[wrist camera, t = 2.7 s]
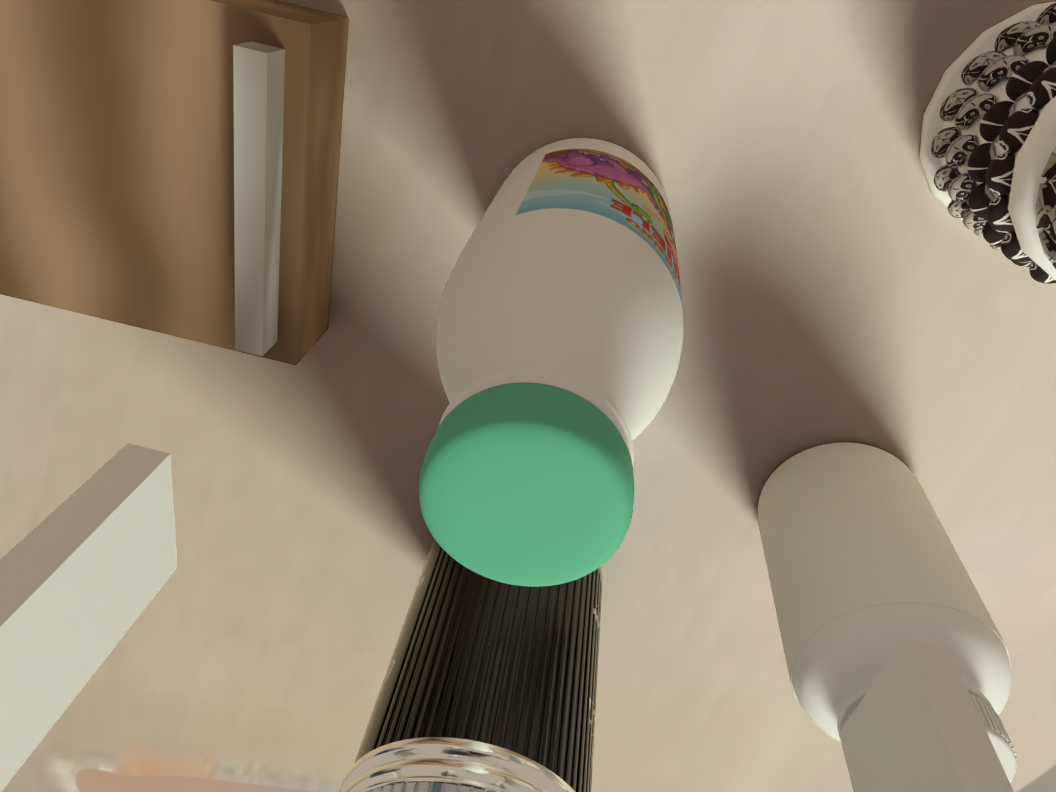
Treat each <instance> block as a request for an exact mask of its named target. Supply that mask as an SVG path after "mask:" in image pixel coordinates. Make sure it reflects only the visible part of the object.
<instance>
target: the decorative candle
mask: <svg viewBox="0 0 1056 792" xmlns="http://www.w3.org/2000/svg"><path fill="white" fill-rule="evenodd" d="M919 160H920V163H921V165H922V168H923V171H924V173H925V176H926V179H927V182H928V184H929V187H930V190H931V193H932V195H933V196H934V197H935V198H937V199H938V200H939V201H940V202H941V203H942V204H943V205H944V206H946V207H947V208H948V211H949V213H950V214H951V215H952V216H953V217H956V218H959V219H960V220H962V221H963V224H964V225H965V226H966V227H967V228H968V229H970V230H972V231H974V233H975V234H976V235H977V236H980V237H984V238H985V240H986V241H987V242H988V243H990V246H991V247H992V248H993V249H995V250H1002V252H1003V254H1004V255H1005V256H1006V257H1007V258H1008V259H1010V260H1011V261H1012V262H1013V263H1014V264H1016V265H1019V266H1023V267H1030V268H1029V269H1030V274H1031V277H1032V278H1033V279H1034V280H1036V281H1038V282H1041V283H1056V1H1054V2H1048V3H1041V4H1035V5H1031V6H1029V7H1027V8H1026V9H1024V10H1022V11H1020V12H1018V13H1016V14H1015V15H1013V16H1011V17H1009V18H1007V19H1005V20H1003V21H1002V22H1000V23H998V24H996V25H994V26H992V27H991V28H989V29H987V30H985V31H983V32H982V33H981V34H980V35H979V36H978V37H977V38H976V39H975V40H974V42H973V43H972V44H971V45H970V46H969V47H968V48H967V49H966V50H965V51H964V52H963V53H962V54H961V55H960V56H959V57H958V58H957V59H956V60H955V61H954V62H953V63H952V64H951V65H950V66H949V67H948V68H947V69H946V70H945V72H944V74H943V76H942V78H941V80H940V82H939V84H938V86H937V88H936V90H935V92H934V94H933V96H932V99H931V101H930V103H929V105H928V107H927V109H926V111H925V113H924V115H923V122H922V133H921V144H920V155H919Z"/></svg>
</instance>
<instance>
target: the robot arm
mask: <svg viewBox="0 0 1056 792" xmlns="http://www.w3.org/2000/svg"><path fill="white" fill-rule="evenodd" d="M177 567H178V566H177V550H176V535H175V519H174V503H173V488H172V472H171V456H170V454H169V453H165V452H161V451H157V450H153V449H149V448H145V447H141V446H137V445H133V444H129V443H128V444H127V445H126V446H125V447H124V448H122V449H121V450H120V451H119V452H118V453H117V454H116V455H115V456H114V457H113V458H111V459H110V460H109V461H108V462H107V463H106V464H105V465H104V466H103V467H102V468H101V469H99V470H98V471H97V472H96V473H95V474H94V475H93V476H92V477H91V478H90V479H89V480H87V481H86V482H85V483H84V484H83V485H82V486H81V487H80V488H79V489H78V490H76V491H75V492H74V493H73V494H72V495H71V496H70V497H69V498H68V499H67V500H66V501H64V502H63V503H62V504H61V505H60V506H59V507H58V508H57V509H56V510H55V511H54V512H52V513H51V514H50V515H49V516H48V517H47V518H46V519H45V520H44V521H43V522H41V523H40V524H39V525H38V526H37V527H36V528H35V529H34V530H33V531H32V532H31V533H29V534H28V535H27V536H26V537H25V538H24V539H23V540H22V541H21V542H20V543H19V544H17V545H16V546H15V547H14V548H13V549H12V550H11V551H10V552H9V553H8V554H6V555H5V556H4V557H3V558H2V559H1V560H0V792H2V790H3V789H4V788H5V786H6V785H7V784H8V783H9V781H10V780H11V779H12V778H13V776H14V775H15V774H16V772H17V771H18V770H19V769H20V767H21V766H22V765H23V763H24V762H25V761H26V760H27V758H28V757H29V756H30V755H31V753H32V752H33V751H34V749H35V748H36V747H37V746H38V744H39V743H40V742H41V741H42V739H43V738H44V737H45V735H46V734H47V733H48V732H49V730H50V729H51V728H52V726H53V725H54V724H55V723H56V721H57V720H58V719H59V718H60V716H61V715H62V714H63V712H64V711H65V710H66V709H67V707H68V706H69V705H70V704H71V702H72V701H73V700H74V698H75V697H76V696H77V695H78V693H79V692H80V691H81V689H82V688H83V687H84V686H85V684H86V683H87V682H88V681H89V679H90V678H91V677H92V675H93V674H94V673H95V672H96V670H97V669H98V668H99V666H100V665H101V664H102V663H103V661H104V660H105V659H106V658H107V656H108V655H109V654H110V652H111V651H112V650H113V649H114V647H115V646H116V645H117V644H118V642H119V641H120V640H121V638H122V637H123V636H124V635H125V633H126V632H127V631H128V629H129V628H130V627H131V626H132V624H133V623H134V622H135V621H136V619H137V618H138V617H139V615H140V614H141V613H142V612H143V610H144V609H145V608H146V607H147V605H148V604H149V603H150V601H151V600H152V599H153V598H154V596H155V595H156V594H157V592H158V591H159V590H160V589H161V587H162V586H163V585H164V584H165V582H166V581H167V580H168V578H169V577H170V576H171V575H172V573H173V572H174V571H175V569H176V568H177ZM839 735H840V739H841V743H842V747H843V751H844V755H845V759H846V763H847V767H848V771H849V775H850V778H851V782H852V786H853V790H854V792H1014V791H1013V789H1012V787H1011V785H1010V782H1009V780H1008V778H1007V776H1006V773H1005V771H1004V769H1003V767H1002V765H1001V762H1000V760H999V758H998V756H997V754H996V751H995V749H994V747H993V745H992V742H991V740H990V738H989V736H988V734H987V731H986V729H985V727H984V725H983V722H982V720H981V718H980V716H979V714H978V711H977V709H976V707H975V705H974V703H973V700H972V698H971V696H970V694H969V691H968V689H967V687H966V685H965V683H964V680H963V678H962V676H961V674H960V671H959V669H958V667H957V665H956V663H955V660H954V658H953V656H952V654H951V652H950V649H949V648H947V647H943V646H939V645H935V644H931V643H927V642H923V641H919V640H915V639H911V638H907V637H905V638H904V640H903V641H902V643H901V644H900V645H899V647H898V648H897V650H896V651H895V653H894V654H893V656H892V657H891V659H890V660H889V661H888V663H887V664H886V666H885V667H884V669H883V670H882V672H881V673H880V675H879V676H878V677H877V679H876V680H875V682H874V683H873V685H872V686H871V688H870V689H869V690H868V692H867V693H866V695H865V696H864V698H863V699H862V701H861V702H860V704H859V705H858V706H857V708H856V709H855V711H854V712H853V714H852V715H851V717H850V718H849V720H848V721H847V722H846V724H845V725H844V727H843V728H842V730H841V731H840V733H839Z"/></svg>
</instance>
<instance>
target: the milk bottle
mask: <svg viewBox="0 0 1056 792" xmlns="http://www.w3.org/2000/svg"><path fill="white" fill-rule="evenodd" d="M682 343H683V305H682V293H681V285H680V276H679V268H678V260H677V253H676V246H675V239H674V232H673V225H672V219H671V214H670V209H669V205H668V202H667V199H666V196H665V193H664V191H663V189H662V186H661V184H660V183H659V181H658V179H657V178H656V176H655V175H654V174H653V172H652V171H651V170H650V168H649V167H648V166H647V165H646V164H645V163H644V162H643V161H642V160H640V159H639V158H638V157H637V156H635V155H634V154H633V153H631V152H630V151H628V150H626V149H624V148H623V147H620V146H618V145H616V144H614V143H610V142H607V141H604V140H599V139H592V138H572V139H565V140H560V141H557V142H554V143H550V144H548V145H546V146H544V147H541V148H540V149H538V150H536V151H534V152H533V153H531V154H530V155H529V156H527V157H526V158H525V159H524V160H523V161H521V162H520V163H519V164H518V165H517V166H516V168H515V169H514V170H513V171H512V172H511V174H510V175H509V176H508V177H507V179H506V180H505V181H504V183H503V185H502V186H501V188H500V189H499V191H498V192H497V194H496V196H495V197H494V199H493V201H492V202H491V204H490V205H489V207H488V209H487V210H486V212H485V214H484V215H483V217H482V219H481V220H480V222H479V223H478V225H477V227H476V228H475V230H474V232H473V234H472V235H471V237H470V239H469V241H468V242H467V244H466V246H465V247H464V249H463V251H462V253H461V254H460V257H459V259H458V261H457V263H456V265H455V267H454V269H453V271H452V273H451V275H450V278H449V280H448V282H447V284H446V287H445V290H444V293H443V296H442V300H441V304H440V308H439V312H438V317H437V325H436V355H437V363H438V368H439V373H440V378H441V381H442V384H443V387H444V390H445V393H446V395H447V397H448V400H449V402H450V404H449V405H448V407H447V408H446V410H445V411H444V413H443V415H442V417H441V420H440V423H439V426H438V429H437V431H436V433H435V435H434V436H433V438H432V440H431V442H430V444H429V447H428V449H427V452H426V455H425V458H424V461H423V464H422V467H421V471H420V476H419V502H420V508H421V512H422V515H423V518H424V521H425V523H426V525H427V527H428V529H429V531H430V533H431V534H432V536H433V537H434V539H435V540H436V541H437V543H438V544H439V545H440V546H441V547H442V548H443V549H444V551H446V552H447V553H448V554H449V555H450V556H451V557H452V558H453V559H455V560H456V561H457V562H459V563H460V564H462V565H463V566H465V567H466V568H468V569H470V570H472V571H473V572H475V573H477V574H480V575H482V576H484V577H487V578H489V579H492V580H495V581H499V582H502V583H507V584H511V585H518V586H529V587H541V586H552V585H558V584H563V583H567V582H570V581H573V580H576V579H579V578H581V577H584V576H586V575H588V574H589V573H591V572H593V571H595V570H596V569H598V568H599V567H600V566H602V565H603V564H604V563H605V562H607V561H608V560H609V559H610V558H611V557H612V556H613V554H614V553H615V552H616V550H617V549H618V548H619V546H620V544H621V543H622V541H623V539H624V537H625V534H626V532H627V530H628V528H629V525H630V522H631V518H632V512H633V501H634V476H633V467H634V449H633V444H632V441H633V440H634V439H635V438H636V437H637V436H638V435H639V434H640V433H641V432H642V431H643V430H644V429H645V428H646V427H647V426H648V425H649V423H650V422H651V421H652V420H653V418H654V417H655V416H656V414H657V413H658V411H659V410H660V408H661V406H662V405H663V403H664V401H665V400H666V398H667V396H668V394H669V391H670V389H671V387H672V384H673V382H674V379H675V376H676V373H677V370H678V366H679V361H680V356H681V350H682Z"/></svg>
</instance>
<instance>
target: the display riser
mask: <svg viewBox="0 0 1056 792" xmlns="http://www.w3.org/2000/svg"><path fill="white" fill-rule="evenodd" d="M348 22H349V18H346V17H342V16H338V15H334V14H329V13H325V12H321V11H317V10H313V9H308V8H304V7H300V6H296V5H292V4H287V3H283V2H279V1H275V0H0V294H2V295H7V296H11V297H15V298H19V299H23V300H27V301H31V302H36V303H40V304H44V305H48V306H52V307H56V308H61V309H65V310H69V311H73V312H77V313H81V314H85V315H90V316H94V317H98V318H102V319H106V320H110V321H114V322H119V323H123V324H127V325H131V326H135V327H139V328H144V329H148V330H152V331H156V332H160V333H164V334H168V335H173V336H177V337H181V338H185V339H189V340H193V341H198V342H202V343H206V344H210V345H214V346H218V347H222V348H227V349H231V350H235V351H239V352H243V353H247V354H251V355H256V356H260V357H264V358H268V359H272V360H276V361H281V362H285V363H289V364H293V365H297V364H298V363H299V361H300V360H301V359H302V358H303V357H304V356H305V354H306V353H307V352H308V351H309V350H310V349H311V347H312V346H313V345H314V344H315V343H316V342H317V340H318V339H319V338H320V337H321V336H322V335H323V333H324V332H325V331H326V330H327V329H328V321H329V306H330V291H331V276H332V261H333V246H334V231H335V217H336V202H337V187H338V172H339V157H340V142H341V127H342V112H343V97H344V82H345V67H346V52H347V37H348Z"/></svg>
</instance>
